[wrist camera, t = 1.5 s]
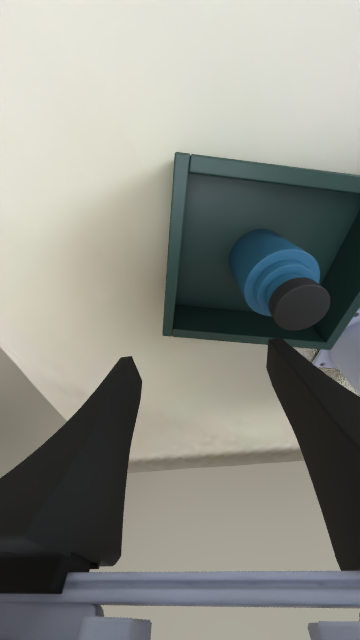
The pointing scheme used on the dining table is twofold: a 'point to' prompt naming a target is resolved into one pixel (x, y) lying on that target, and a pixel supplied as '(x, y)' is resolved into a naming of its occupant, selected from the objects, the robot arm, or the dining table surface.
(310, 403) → the robot arm
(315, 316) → the bottle
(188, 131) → the dining table surface
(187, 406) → the dining table surface
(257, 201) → the bin
